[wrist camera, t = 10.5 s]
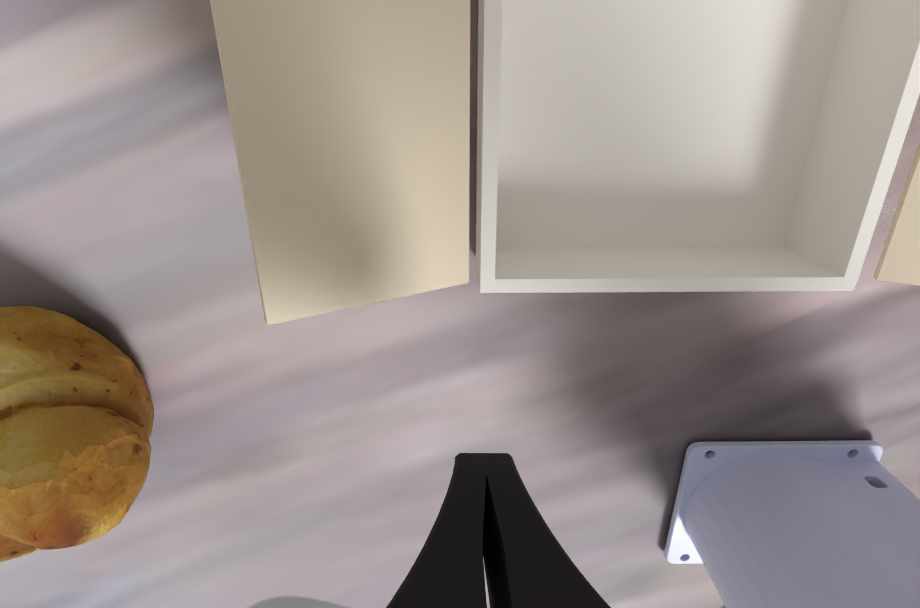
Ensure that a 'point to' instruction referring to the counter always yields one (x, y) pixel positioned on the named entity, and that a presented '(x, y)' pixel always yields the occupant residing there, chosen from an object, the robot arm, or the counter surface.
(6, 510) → the bread roll
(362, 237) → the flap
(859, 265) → the carton
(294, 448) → the counter surface
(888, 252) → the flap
